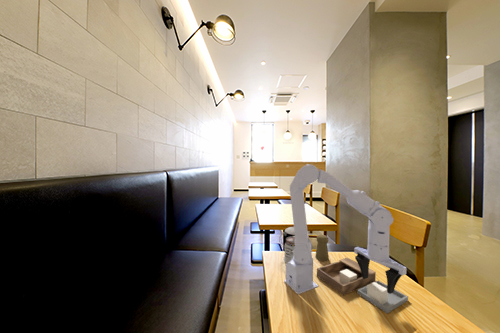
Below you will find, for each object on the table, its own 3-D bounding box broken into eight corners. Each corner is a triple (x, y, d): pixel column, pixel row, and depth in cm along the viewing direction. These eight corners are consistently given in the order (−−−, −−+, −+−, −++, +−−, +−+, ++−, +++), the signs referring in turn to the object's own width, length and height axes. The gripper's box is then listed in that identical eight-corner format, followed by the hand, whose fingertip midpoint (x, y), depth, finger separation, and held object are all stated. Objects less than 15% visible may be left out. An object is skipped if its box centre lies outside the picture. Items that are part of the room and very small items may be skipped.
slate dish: (387, 314, 53) (387, 308, 53) (357, 294, 61) (357, 289, 61) (408, 301, 58) (408, 296, 58) (378, 285, 66) (378, 280, 66)
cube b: (349, 288, 63) (349, 277, 63) (339, 282, 67) (339, 271, 67) (356, 285, 65) (356, 274, 65) (346, 279, 69) (346, 268, 69)
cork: (331, 262, 82) (331, 238, 81) (317, 262, 82) (318, 238, 82) (325, 255, 88) (326, 233, 88) (313, 255, 88) (313, 233, 88)
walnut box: (343, 296, 60) (343, 284, 60) (316, 276, 71) (316, 267, 71) (375, 281, 68) (375, 271, 68) (347, 266, 79) (347, 257, 78)
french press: (301, 269, 76) (302, 210, 76) (275, 261, 82) (276, 206, 82) (306, 259, 84) (307, 205, 84) (283, 252, 90) (284, 202, 90)
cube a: (387, 301, 57) (387, 289, 57) (380, 305, 56) (380, 292, 56) (374, 293, 61) (374, 281, 61) (367, 297, 59) (367, 285, 59)
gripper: (412, 250, 54) (411, 295, 54) (363, 233, 67) (362, 269, 67) (399, 255, 50) (398, 303, 51) (350, 236, 64) (350, 274, 64)
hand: (377, 284), depth 58 cm, fingers open, 7 cm apart
